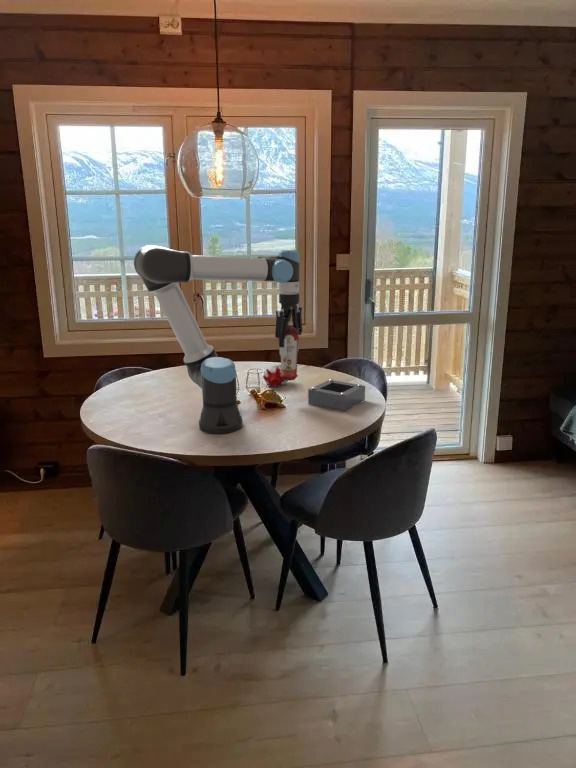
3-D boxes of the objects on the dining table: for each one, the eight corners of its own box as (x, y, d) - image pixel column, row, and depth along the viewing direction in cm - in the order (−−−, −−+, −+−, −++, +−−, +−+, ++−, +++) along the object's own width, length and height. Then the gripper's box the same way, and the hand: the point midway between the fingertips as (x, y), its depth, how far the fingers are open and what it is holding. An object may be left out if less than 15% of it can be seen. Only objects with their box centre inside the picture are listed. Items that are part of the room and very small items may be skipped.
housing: (344, 411, 218) (344, 394, 216) (308, 404, 227) (308, 387, 225) (364, 400, 230) (365, 384, 228) (329, 393, 239) (330, 378, 237)
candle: (289, 379, 258) (289, 393, 244) (264, 379, 258) (262, 393, 244) (289, 360, 254) (288, 373, 241) (263, 360, 255) (261, 373, 241)
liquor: (279, 381, 222) (279, 308, 215) (279, 376, 229) (279, 305, 222) (298, 381, 223) (299, 308, 215) (298, 376, 230) (298, 305, 222)
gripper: (281, 296, 207) (281, 359, 213) (312, 290, 223) (311, 349, 229) (264, 295, 211) (265, 357, 217) (296, 289, 227) (295, 347, 233)
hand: (289, 353), depth 223 cm, fingers closed on liquor, 7 cm apart
